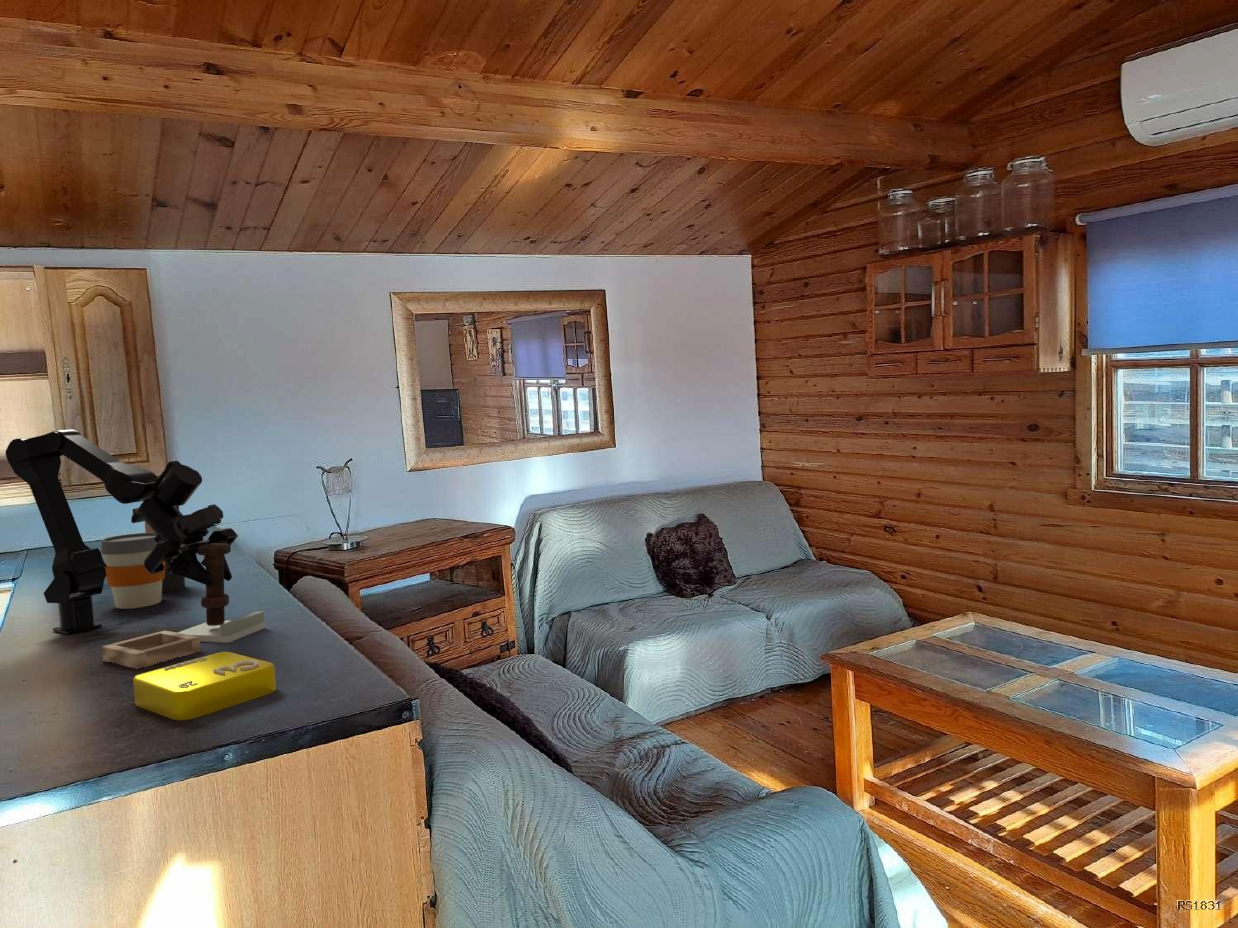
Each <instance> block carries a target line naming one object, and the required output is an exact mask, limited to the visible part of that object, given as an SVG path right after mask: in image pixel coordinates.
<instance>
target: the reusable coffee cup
mask: <svg viewBox="0 0 1238 928" xmlns="http://www.w3.org/2000/svg"><path fill="white" fill-rule="evenodd" d="M156 536H157V534H156V533H145V532H139V533H138V532H137V533H128V534H127V533H126V534H120V535H114V536H109V537H105V538H103V539H101V541H100V544H101V545H100V551H101V555H103V556H102V557H103V561H104V563H105V564H106V565H107V567H105V569H106V577H105V579H106V582H107V585H108V586H109V587H110V589H111V594H112V598H113V601H114V606H115V608H116V609H121V610H123V609H124V610H125V609H126V610H127V609H128V610H129V609H137V608H145V607H148V606H149V607H150V606H153V605H156V604H159V603H161V602H162V596H163V595H162V594H163V592H162V580H163V579H164V578H165V561H163V562H162V564H163V565H164V570H163V571H162V572H160V573H156V574H153V575H151V574H150V573H149V572H148V571H147V570H146V569H145V566H144V560H145V559H146V557H147V556H148V555H149V553H150V552H151V551H152V550H153V548H154V547H155V546H156V544H159V543H157V542H156V541H155V540H154V538H155V537H156ZM160 543H163V542H160Z"/></svg>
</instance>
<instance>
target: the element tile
mask: <svg viewBox="0 0 1238 928" xmlns="http://www.w3.org/2000/svg"><path fill="white" fill-rule="evenodd" d="M132 680H133V682H132V683H133V692H134V703H135V706H136V707H139V708H141V709H144V710H147V711H150V712H153V713H154V714H158V715H160V716H163V717H166V718H169V719H171V720H175V721H188V720H192V719H196V718H199V717H203V716H205V715H208V714H212V713H215V712H218V711H221V710H224V709H227V708H230V707H232V706H236V705H239V704H242V703H246V702H249V701H252V700H254V699H257V698H260V697H263V696H267V695H269V694H272V693H273V692H275V691H276V690H277V684H276V683H277V682H276V667H275V664H274V663H272V662H269V661H266V660H262V659H259V658H254V657H250V656H247V655H242V654H238V653H234V652H231V651H219V652H215V653H212V654H208V655H205V656H201V657H198V658H197V657H196V658H194V659H190V660H185V661H183V662H178V663H176V664H172V665H168V666H164V667H160V668H158V669H155V670H150V671H147V672H143V673H142V672H141V673H139V674H136V675H135V676H134V677H133V678H132Z"/></svg>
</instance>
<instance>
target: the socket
mask: <svg viewBox="0 0 1238 928" xmlns="http://www.w3.org/2000/svg"><path fill="white" fill-rule="evenodd" d="M101 652H102V660H103V662H106V663H107V662H108V663H110V662H112V663H111V664H114V663H116V664H115V665H118V664H119V665H120V666H123V667H127V668H131V667H132V668H131V669H135V668H136V669H135V670H140V669H139V668H141V669H143V668H142V667H144V668H148V667H151V666H154V664H155V665H158V664H160V663H159V662H162V663H165V662H168V660H169V661H171V659H172V660H175V659H174V658H176V657H179V658H182V656H183V657H185V656H188V655H193V654H195V653H199V652H202V647H201V642H200V637H196V636H191V635H186V634H181V633H178V632H174V631H170V630H165V629H164V630H161V631H157V632H153V633H150V634H144V635H141V636H138V637H135V638H134V637H133V638H130V639H126V640H122V641H118V642H114V643H110V644H107V645H102V646H101ZM176 659H177V658H176ZM157 663H158V664H157ZM119 665H118V666H119Z"/></svg>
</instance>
